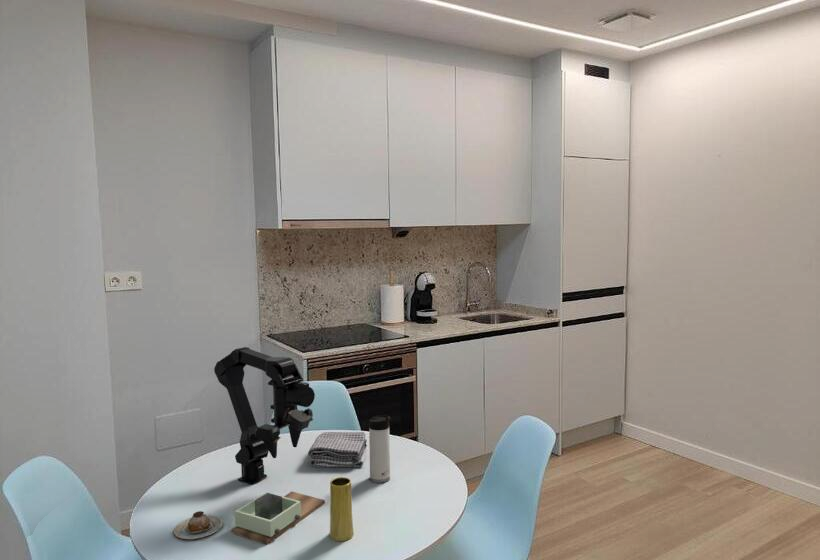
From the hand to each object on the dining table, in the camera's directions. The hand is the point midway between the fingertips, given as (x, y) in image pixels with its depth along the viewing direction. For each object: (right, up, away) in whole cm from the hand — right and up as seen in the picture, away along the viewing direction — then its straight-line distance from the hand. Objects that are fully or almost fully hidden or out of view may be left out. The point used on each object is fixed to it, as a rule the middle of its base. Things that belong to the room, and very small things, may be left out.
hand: (284, 452), depth 172 cm
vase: (+20, -14, -24) cm, 34 cm away
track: (+2, -13, -14) cm, 20 cm away
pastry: (-18, -15, -20) cm, 31 cm away
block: (0, -12, -19) cm, 22 cm away
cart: (0, -13, -19) cm, 23 cm away
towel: (+13, -10, +25) cm, 30 cm away
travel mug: (+28, -11, +9) cm, 31 cm away
